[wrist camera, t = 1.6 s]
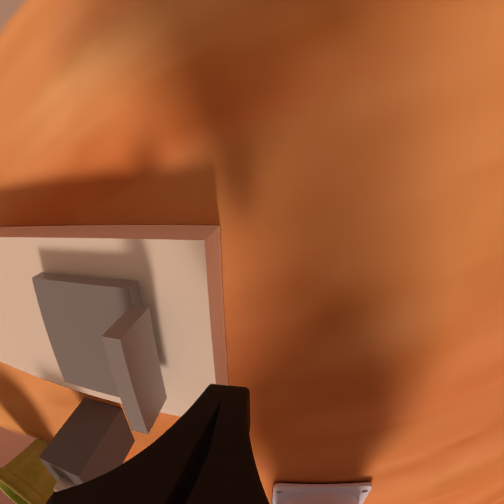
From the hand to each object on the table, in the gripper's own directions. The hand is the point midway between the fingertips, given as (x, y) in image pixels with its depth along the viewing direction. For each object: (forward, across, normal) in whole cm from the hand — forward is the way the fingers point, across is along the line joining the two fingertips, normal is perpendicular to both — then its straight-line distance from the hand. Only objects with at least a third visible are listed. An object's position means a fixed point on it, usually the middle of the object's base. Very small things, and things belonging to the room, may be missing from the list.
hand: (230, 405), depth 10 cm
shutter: (+3, +7, 0) cm, 8 cm away
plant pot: (+6, +24, +22) cm, 33 cm away
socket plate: (+6, +10, 0) cm, 12 cm away
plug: (+6, +12, +11) cm, 17 cm away
